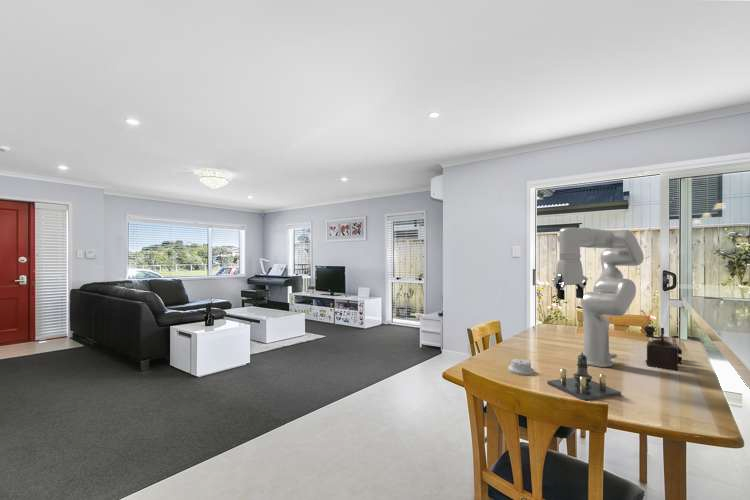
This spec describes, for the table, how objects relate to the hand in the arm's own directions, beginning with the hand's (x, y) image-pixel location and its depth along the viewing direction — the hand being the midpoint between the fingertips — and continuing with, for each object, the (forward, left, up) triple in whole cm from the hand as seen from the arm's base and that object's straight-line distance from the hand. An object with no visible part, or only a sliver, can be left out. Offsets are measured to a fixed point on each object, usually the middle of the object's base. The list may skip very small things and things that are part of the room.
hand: (570, 298), depth 146 cm
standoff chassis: (+12, +17, -30) cm, 36 cm away
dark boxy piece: (-42, +6, -30) cm, 52 cm away
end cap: (-56, 0, -30) cm, 64 cm away
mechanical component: (+20, -7, -31) cm, 37 cm away
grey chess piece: (+12, +17, -29) cm, 36 cm away
